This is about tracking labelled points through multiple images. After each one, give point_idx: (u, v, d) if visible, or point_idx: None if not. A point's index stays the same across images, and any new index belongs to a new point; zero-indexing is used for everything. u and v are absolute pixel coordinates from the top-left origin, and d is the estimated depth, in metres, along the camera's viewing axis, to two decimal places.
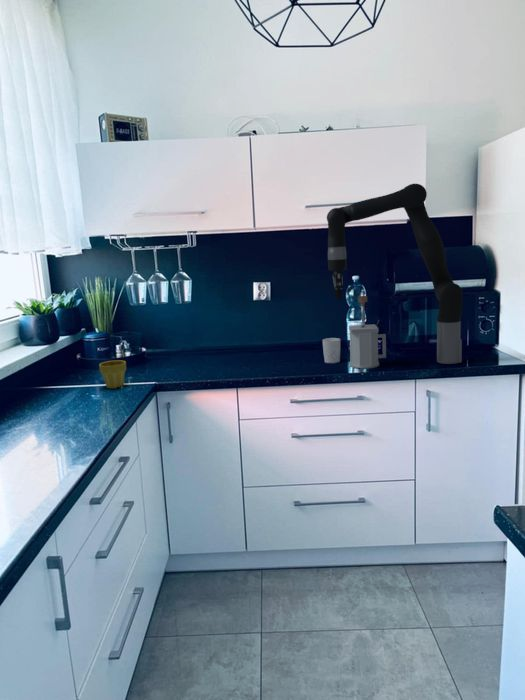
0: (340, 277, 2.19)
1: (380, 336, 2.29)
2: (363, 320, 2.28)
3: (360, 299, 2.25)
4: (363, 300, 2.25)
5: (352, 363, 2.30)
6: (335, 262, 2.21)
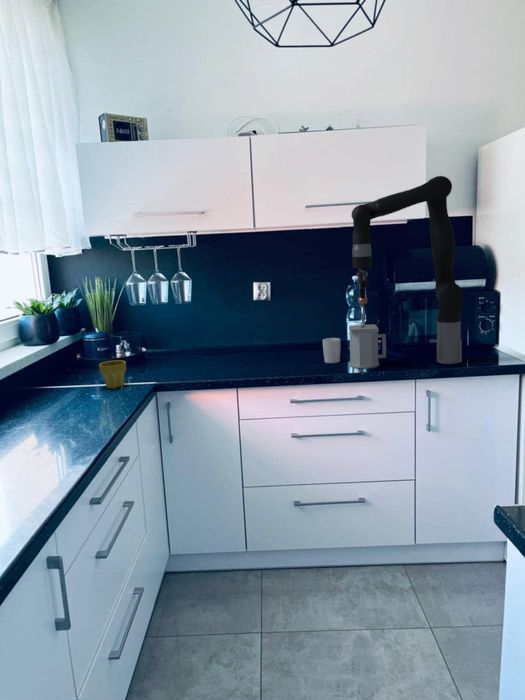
0: (365, 280, 2.20)
1: (380, 336, 2.29)
2: (363, 321, 2.28)
3: (360, 300, 2.25)
4: (363, 301, 2.25)
5: (352, 363, 2.30)
6: (360, 259, 2.20)
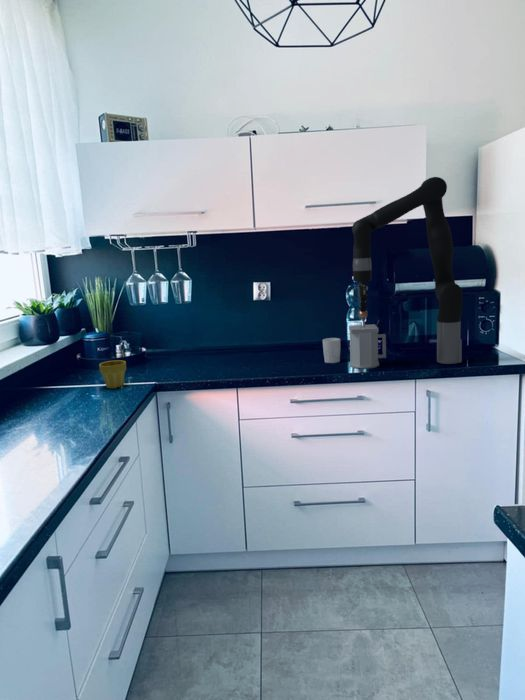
0: (365, 294, 2.21)
1: (380, 336, 2.29)
2: None
3: (360, 314, 2.27)
4: (363, 315, 2.26)
5: (352, 363, 2.30)
6: (360, 273, 2.21)
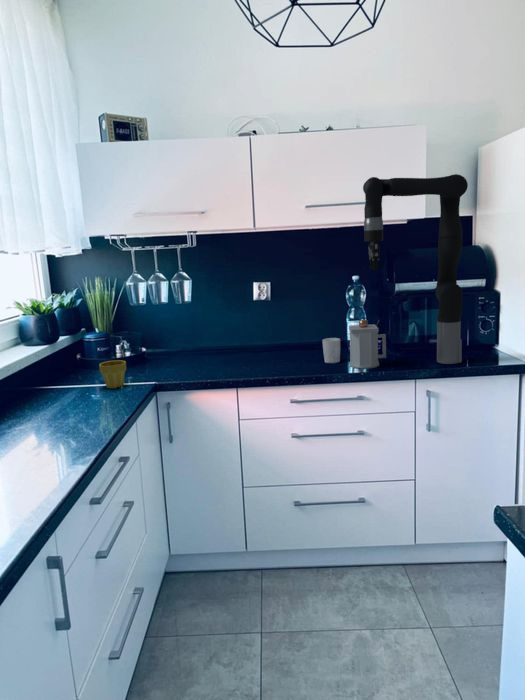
0: (377, 247, 2.15)
1: (380, 336, 2.29)
2: None
3: (361, 323, 2.27)
4: (364, 324, 2.27)
5: (352, 363, 2.30)
6: (372, 232, 2.18)
